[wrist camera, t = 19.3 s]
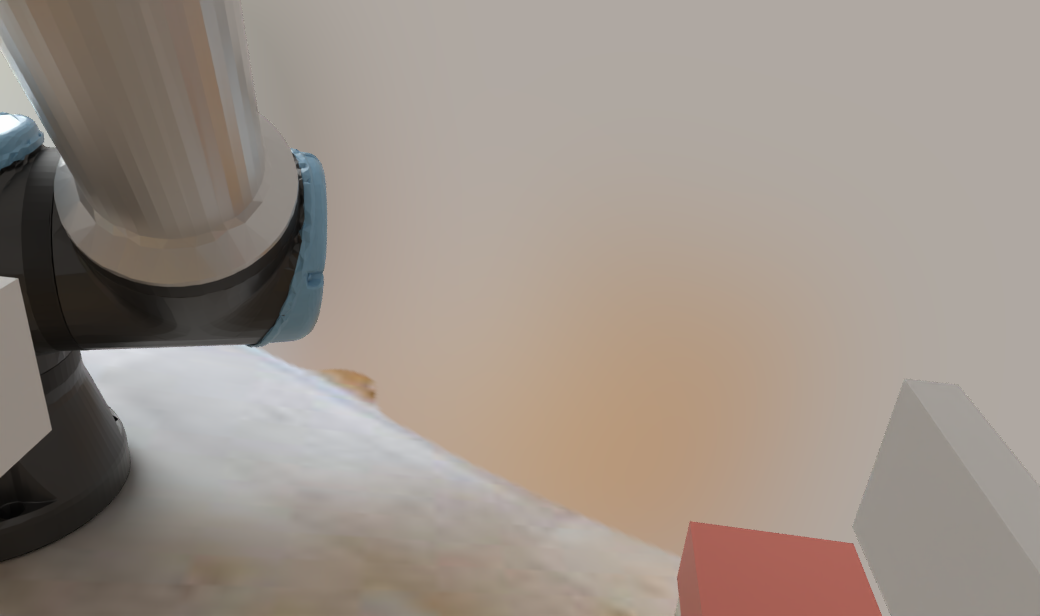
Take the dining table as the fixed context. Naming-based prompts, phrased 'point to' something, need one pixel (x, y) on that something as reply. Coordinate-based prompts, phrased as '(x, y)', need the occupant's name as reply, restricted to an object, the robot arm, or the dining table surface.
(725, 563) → the block
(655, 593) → the dining table surface
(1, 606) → the dining table surface
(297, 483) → the dining table surface
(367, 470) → the dining table surface
